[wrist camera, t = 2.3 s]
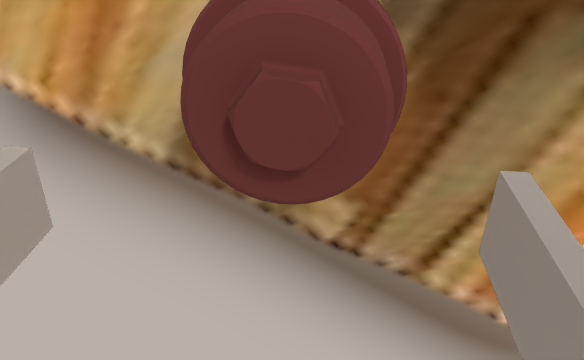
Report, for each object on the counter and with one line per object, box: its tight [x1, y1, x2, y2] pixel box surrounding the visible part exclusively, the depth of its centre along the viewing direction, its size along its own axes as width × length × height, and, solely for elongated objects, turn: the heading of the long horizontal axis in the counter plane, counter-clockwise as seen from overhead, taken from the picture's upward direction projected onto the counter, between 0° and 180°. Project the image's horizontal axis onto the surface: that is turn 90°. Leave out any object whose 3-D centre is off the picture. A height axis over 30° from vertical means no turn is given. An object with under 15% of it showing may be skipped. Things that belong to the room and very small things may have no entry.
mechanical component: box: [181, 0, 407, 204], centre depth 23 cm, size 12×10×10 cm
